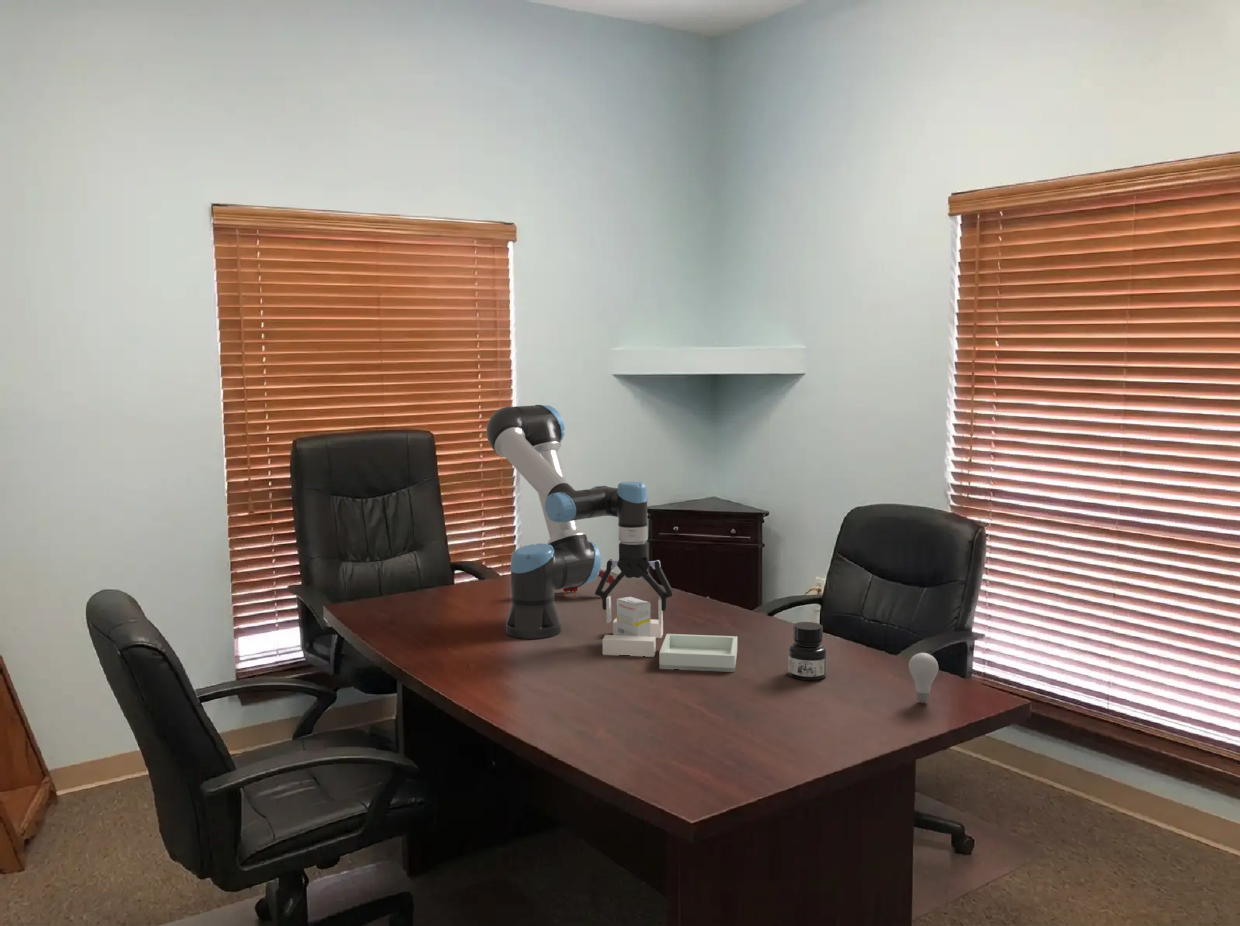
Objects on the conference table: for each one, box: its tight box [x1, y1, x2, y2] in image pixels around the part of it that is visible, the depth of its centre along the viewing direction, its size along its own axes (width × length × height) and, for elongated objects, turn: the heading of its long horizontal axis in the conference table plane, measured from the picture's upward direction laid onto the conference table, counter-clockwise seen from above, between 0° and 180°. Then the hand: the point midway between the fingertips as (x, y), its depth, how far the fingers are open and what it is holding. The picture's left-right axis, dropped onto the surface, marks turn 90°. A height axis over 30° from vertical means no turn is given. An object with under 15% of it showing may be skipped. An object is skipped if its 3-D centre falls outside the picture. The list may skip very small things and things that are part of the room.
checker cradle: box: [602, 617, 664, 658], centre depth 253 cm, size 13×20×4 cm, turn 171°
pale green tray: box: [658, 633, 738, 673], centre depth 239 cm, size 18×16×4 cm
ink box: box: [616, 596, 651, 637], centre depth 252 cm, size 9×5×12 cm, turn 39°
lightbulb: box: [908, 652, 940, 704], centre depth 208 cm, size 6×6×11 cm
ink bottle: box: [787, 621, 828, 681], centre depth 227 cm, size 10×9×12 cm
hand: (634, 622), depth 252 cm, fingers open, 13 cm apart
